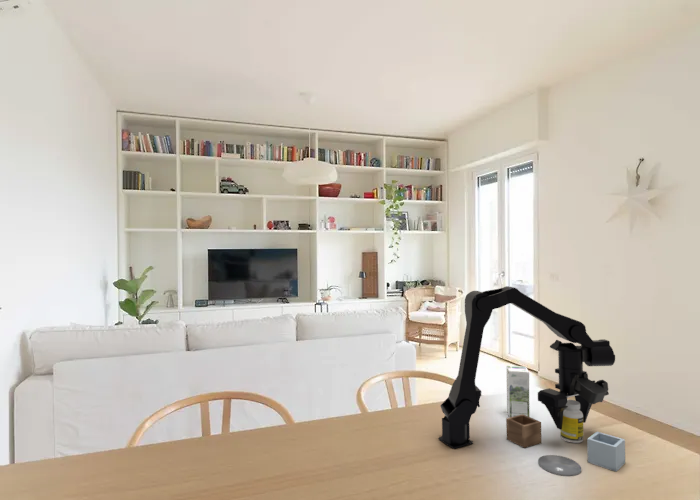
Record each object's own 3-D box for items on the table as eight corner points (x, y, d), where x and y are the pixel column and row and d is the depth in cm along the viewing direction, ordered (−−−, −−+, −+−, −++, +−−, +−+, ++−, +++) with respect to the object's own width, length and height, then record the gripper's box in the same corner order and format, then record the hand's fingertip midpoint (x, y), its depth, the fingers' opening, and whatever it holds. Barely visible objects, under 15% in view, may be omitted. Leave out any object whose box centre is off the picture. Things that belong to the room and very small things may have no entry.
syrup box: (526, 412, 132) (525, 365, 132) (530, 420, 126) (529, 371, 126) (506, 411, 133) (506, 364, 133) (509, 419, 128) (508, 370, 128)
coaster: (563, 479, 94) (563, 478, 94) (529, 461, 102) (529, 460, 102) (590, 470, 98) (590, 468, 98) (555, 453, 106) (555, 451, 106)
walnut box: (524, 448, 109) (524, 426, 109) (506, 439, 114) (506, 418, 114) (541, 443, 112) (541, 422, 112) (523, 434, 117) (522, 414, 117)
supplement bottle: (581, 445, 110) (580, 407, 110) (558, 440, 113) (557, 403, 113) (585, 438, 114) (584, 401, 114) (562, 433, 117) (562, 397, 117)
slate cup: (616, 471, 97) (615, 447, 97) (587, 462, 101) (587, 438, 101) (625, 462, 101) (624, 439, 101) (597, 453, 105) (597, 431, 105)
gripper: (574, 379, 102) (575, 445, 102) (623, 369, 110) (624, 429, 110) (535, 368, 112) (536, 428, 112) (583, 359, 120) (584, 415, 121)
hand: (571, 425), depth 114 cm, fingers open, 9 cm apart
